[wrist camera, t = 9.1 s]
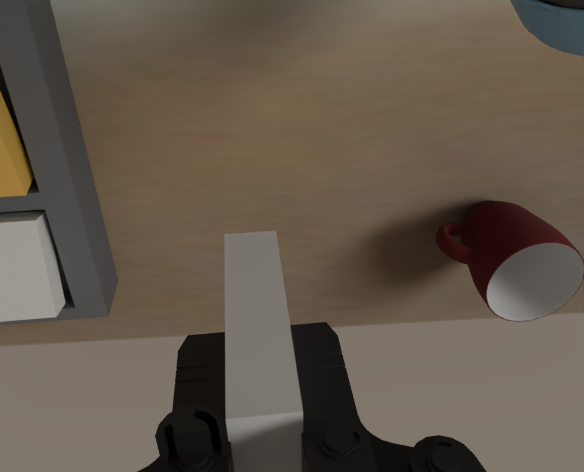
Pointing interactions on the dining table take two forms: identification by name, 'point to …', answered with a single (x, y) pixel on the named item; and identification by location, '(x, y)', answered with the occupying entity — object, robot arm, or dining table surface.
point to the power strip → (54, 158)
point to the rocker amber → (12, 158)
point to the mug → (514, 260)
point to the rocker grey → (28, 268)
